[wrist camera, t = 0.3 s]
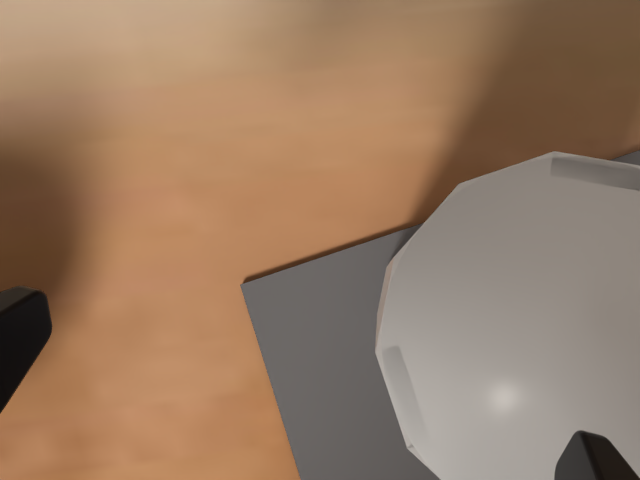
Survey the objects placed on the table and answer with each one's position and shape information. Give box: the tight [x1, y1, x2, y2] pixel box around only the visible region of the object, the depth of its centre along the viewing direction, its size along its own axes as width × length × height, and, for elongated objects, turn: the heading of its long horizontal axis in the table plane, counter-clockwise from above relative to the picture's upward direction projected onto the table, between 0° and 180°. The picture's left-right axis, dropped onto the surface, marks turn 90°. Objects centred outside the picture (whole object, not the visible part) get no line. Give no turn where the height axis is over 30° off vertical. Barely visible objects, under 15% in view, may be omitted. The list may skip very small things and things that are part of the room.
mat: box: [240, 150, 640, 480], centre depth 22 cm, size 20×18×1 cm
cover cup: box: [375, 151, 640, 480], centre depth 16 cm, size 7×7×12 cm
